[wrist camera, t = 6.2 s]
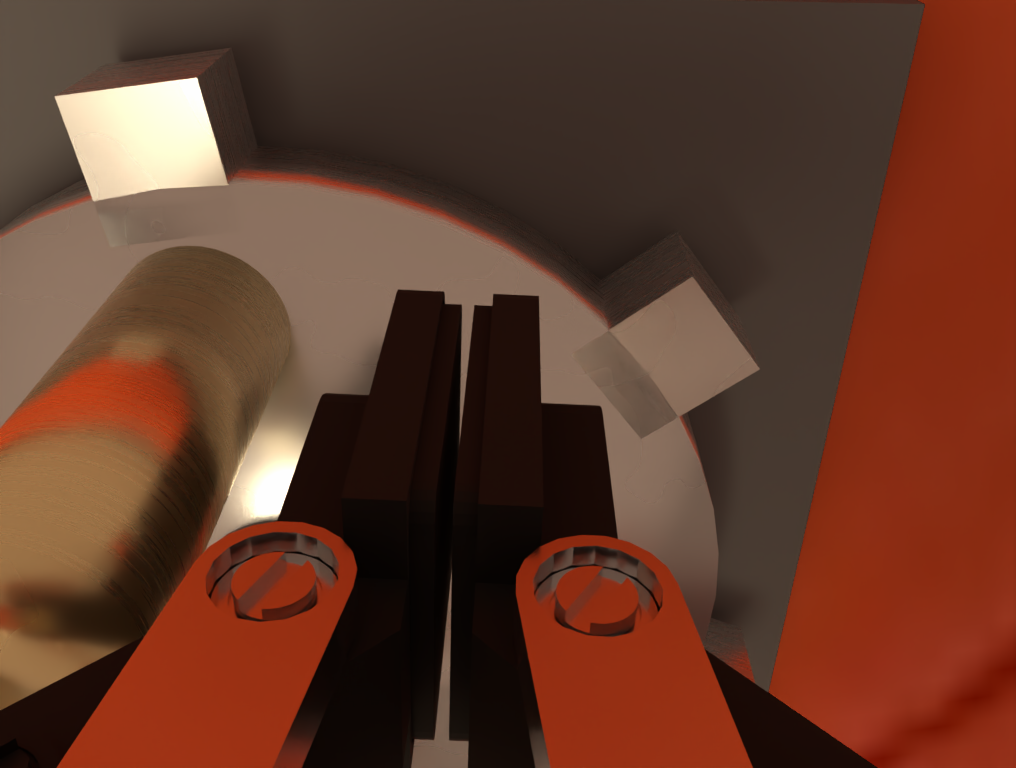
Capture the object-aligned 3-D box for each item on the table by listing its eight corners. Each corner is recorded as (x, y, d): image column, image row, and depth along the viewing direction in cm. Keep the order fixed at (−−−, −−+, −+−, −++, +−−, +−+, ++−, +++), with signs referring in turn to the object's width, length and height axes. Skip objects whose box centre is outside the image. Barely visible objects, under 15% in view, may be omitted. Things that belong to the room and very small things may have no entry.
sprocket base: (909, -4, 14) (925, 4, 13) (732, 804, 23) (737, 827, 22) (-375, -30, 14) (-410, -23, 13) (-26, 786, 23) (-39, 808, 22)
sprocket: (736, -21, 12) (965, 181, 6) (741, 790, 21) (838, 1234, 15) (-352, 126, 14) (-1138, 425, 7) (71, 835, 22) (-115, 1264, 16)
